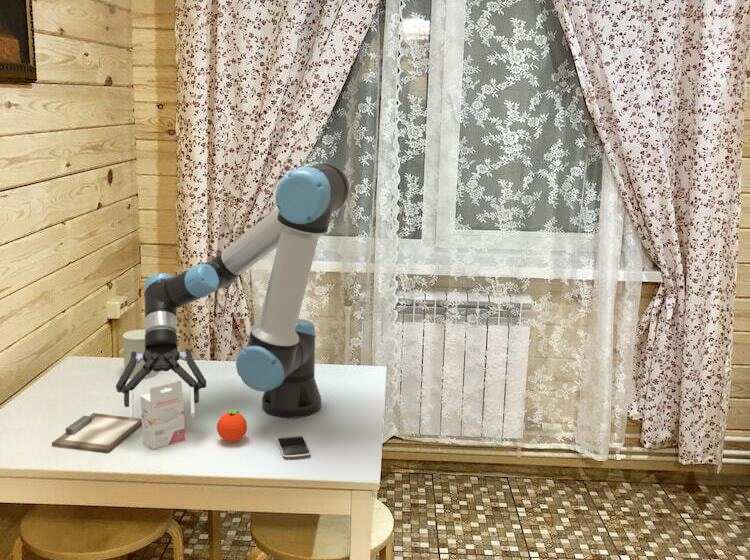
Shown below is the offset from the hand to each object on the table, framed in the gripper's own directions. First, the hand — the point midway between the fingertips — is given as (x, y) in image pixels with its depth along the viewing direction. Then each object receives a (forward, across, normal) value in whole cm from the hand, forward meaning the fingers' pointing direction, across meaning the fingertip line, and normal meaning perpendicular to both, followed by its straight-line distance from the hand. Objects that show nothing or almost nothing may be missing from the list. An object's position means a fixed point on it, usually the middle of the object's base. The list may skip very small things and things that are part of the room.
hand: (162, 417), depth 196 cm
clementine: (+5, -16, -5) cm, 17 cm away
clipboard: (-1, +14, -11) cm, 18 cm away
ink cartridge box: (+4, 0, -6) cm, 7 cm away
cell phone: (+10, -29, 0) cm, 31 cm away
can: (-30, +7, -40) cm, 50 cm away
